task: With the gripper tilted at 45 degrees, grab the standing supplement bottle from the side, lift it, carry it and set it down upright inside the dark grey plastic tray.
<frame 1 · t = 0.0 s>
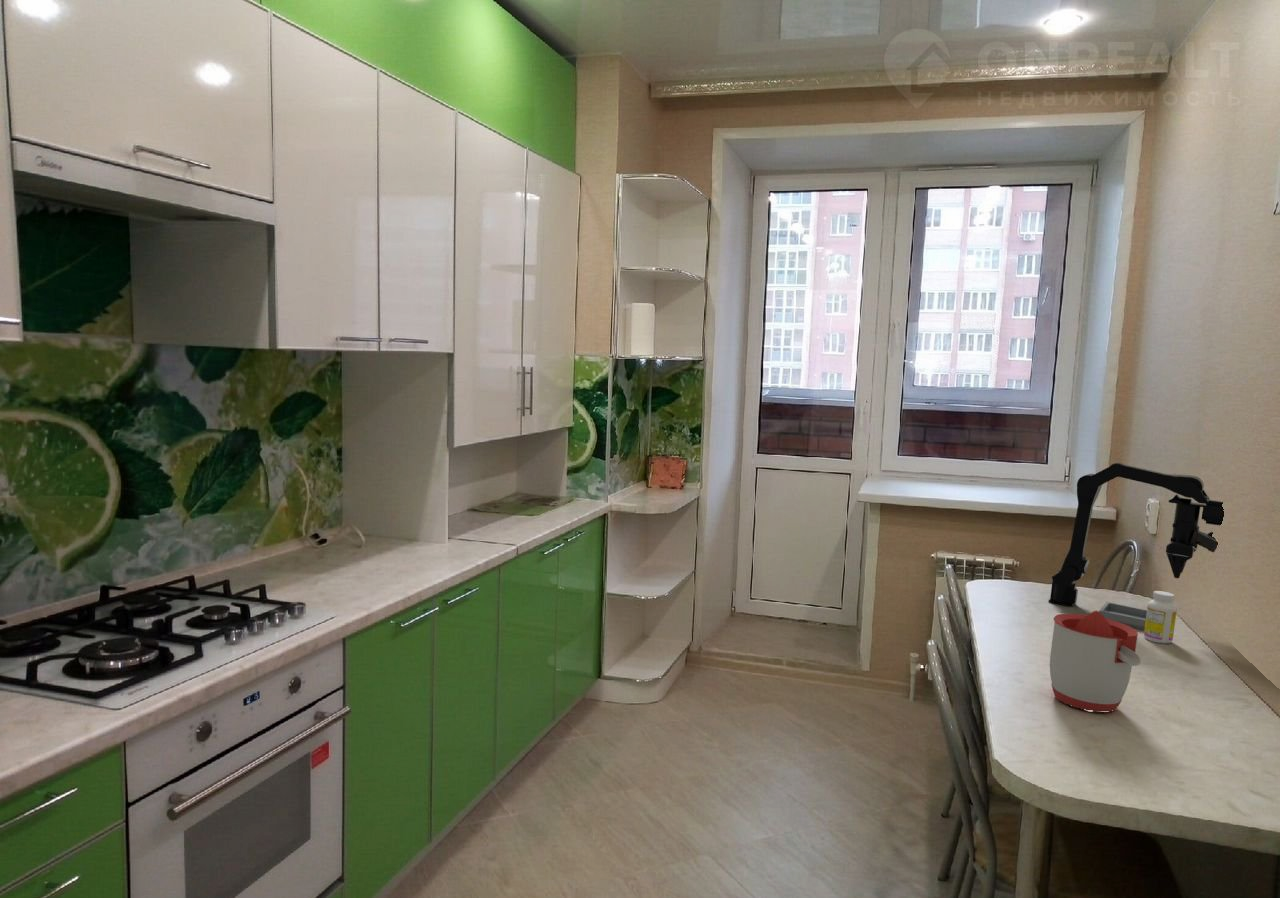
hand: (1178, 575, 241), 15 cm above the table, fingers open, 9 cm apart
supplement bottle: (1157, 640, 228), on the table
citrus juicer: (1088, 705, 180), on the table
tray: (1126, 621, 244), on the table
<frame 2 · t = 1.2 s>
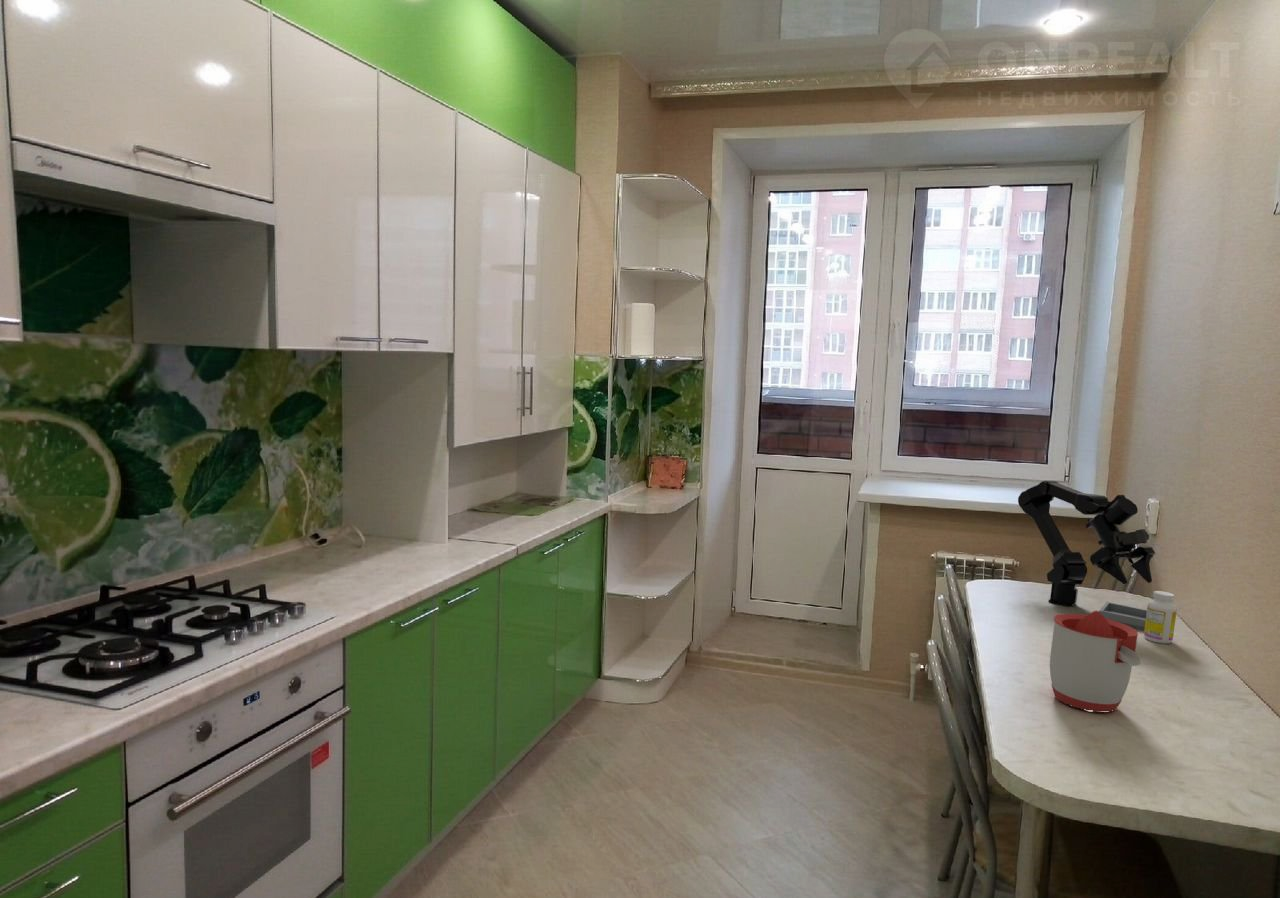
hand: (1138, 582, 234), 13 cm above the table, fingers open, 9 cm apart
nothing on the table moved.
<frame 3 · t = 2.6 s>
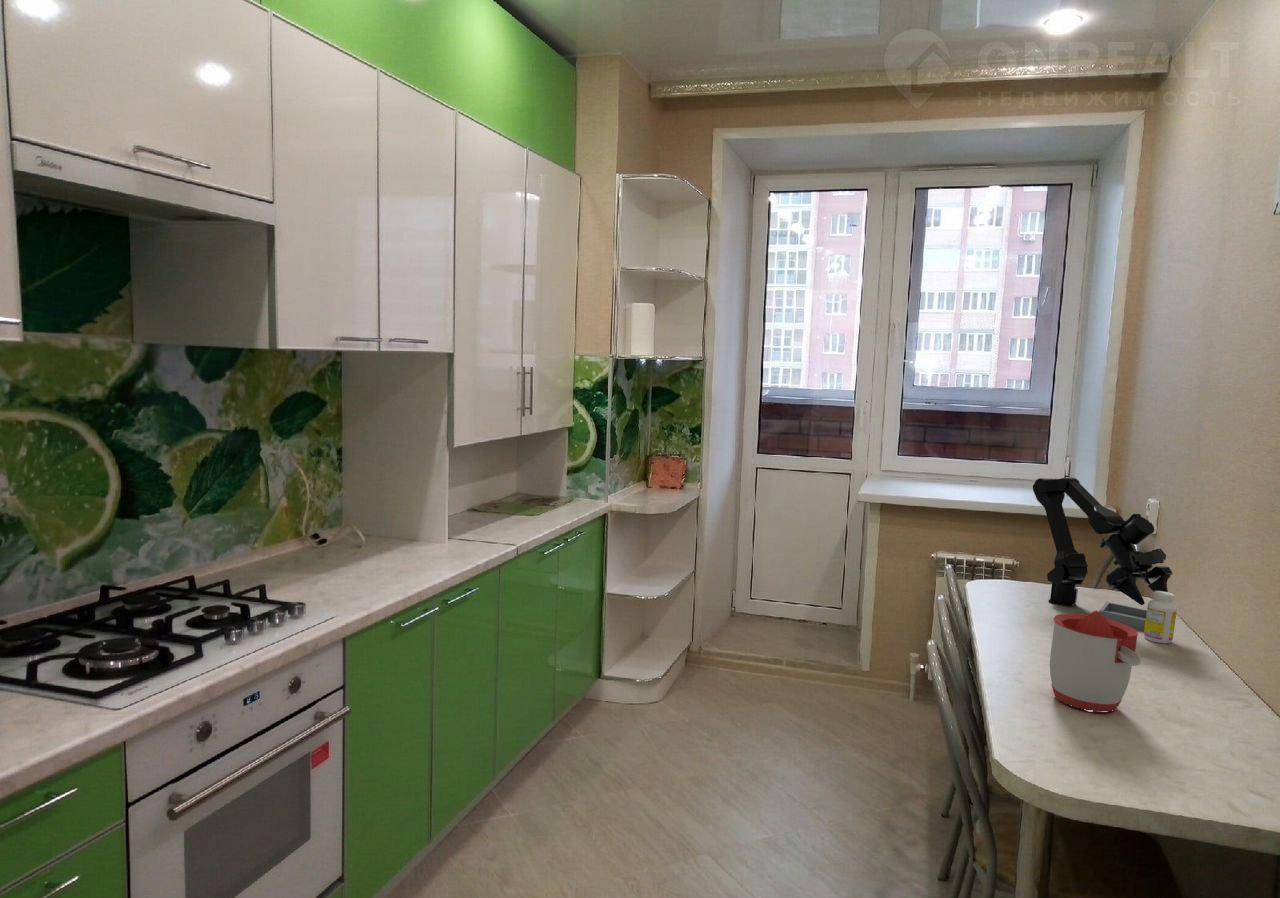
hand: (1155, 603, 229), 9 cm above the table, fingers open, 9 cm apart
nothing on the table moved.
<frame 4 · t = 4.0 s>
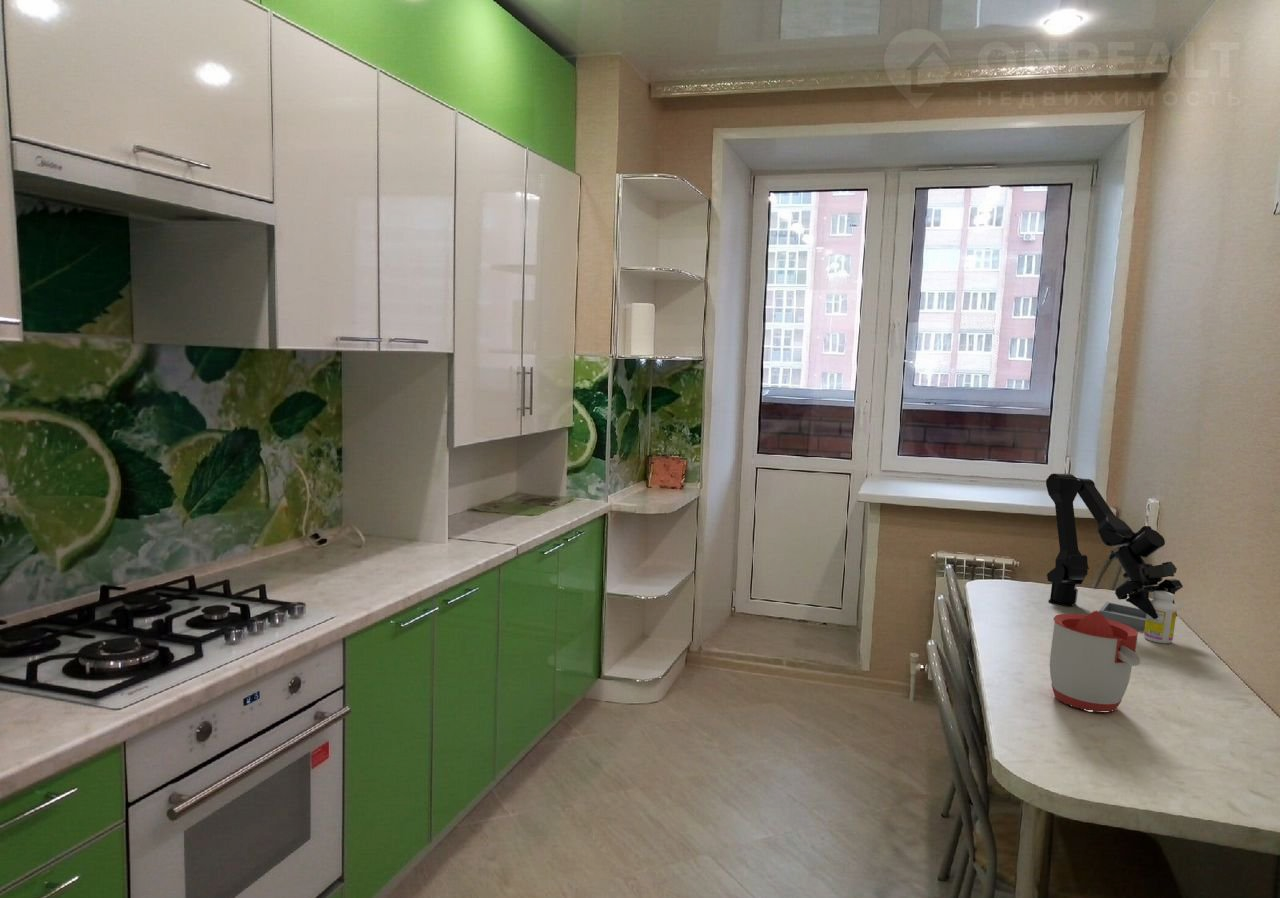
hand: (1165, 617, 226), 7 cm above the table, fingers closed on supplement bottle, 7 cm apart
supplement bottle: (1157, 640, 228), on the table, touching gripper
everything else where it was.
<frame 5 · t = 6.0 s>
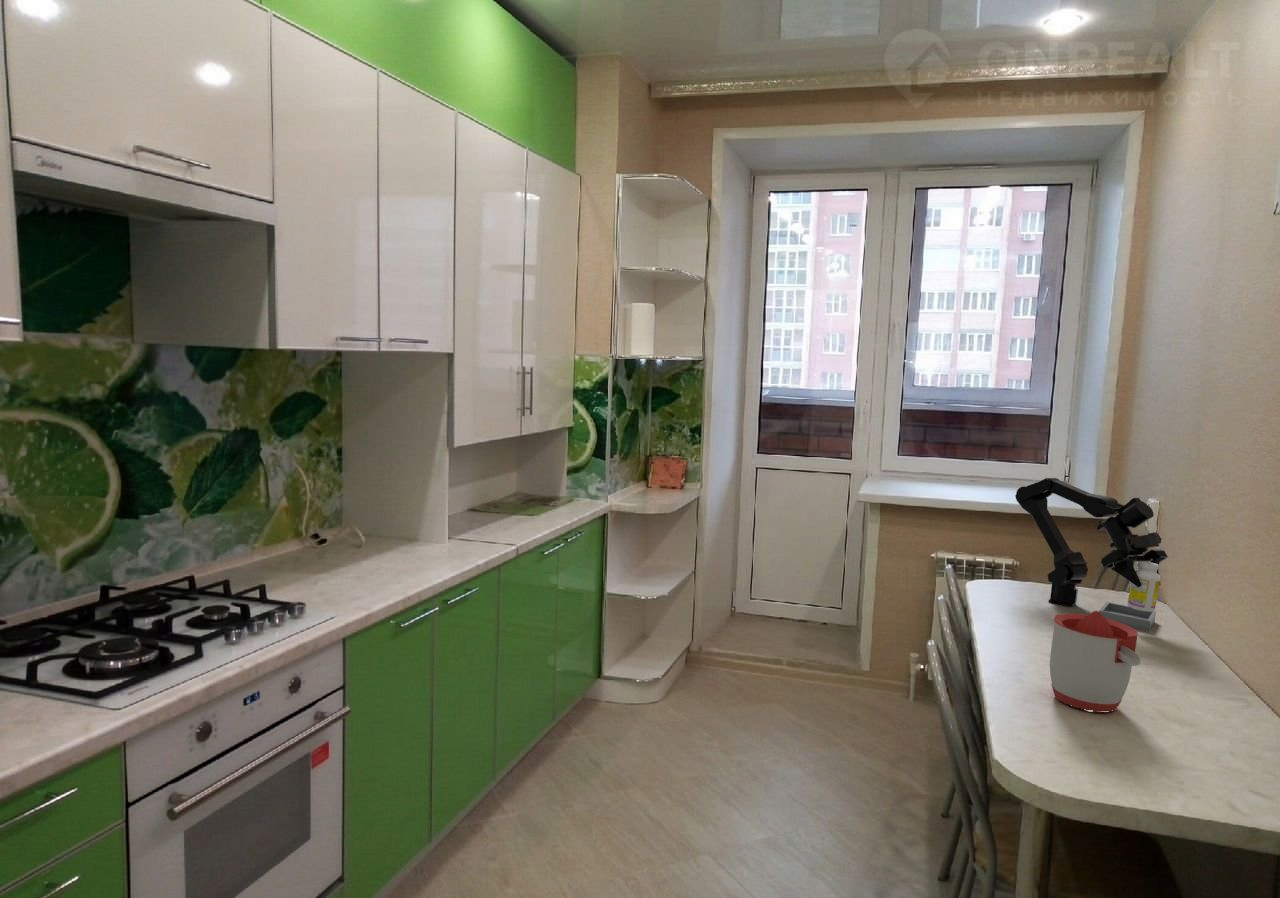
hand: (1149, 586, 233), 13 cm above the table, fingers closed on supplement bottle, 7 cm apart
supplement bottle: (1140, 609, 235), point 6 cm above the table, touching gripper
everything else where it was.
when the fingers open (9 cm above the table, at t = 8.2 s): supplement bottle stays where it is, resting on tray.
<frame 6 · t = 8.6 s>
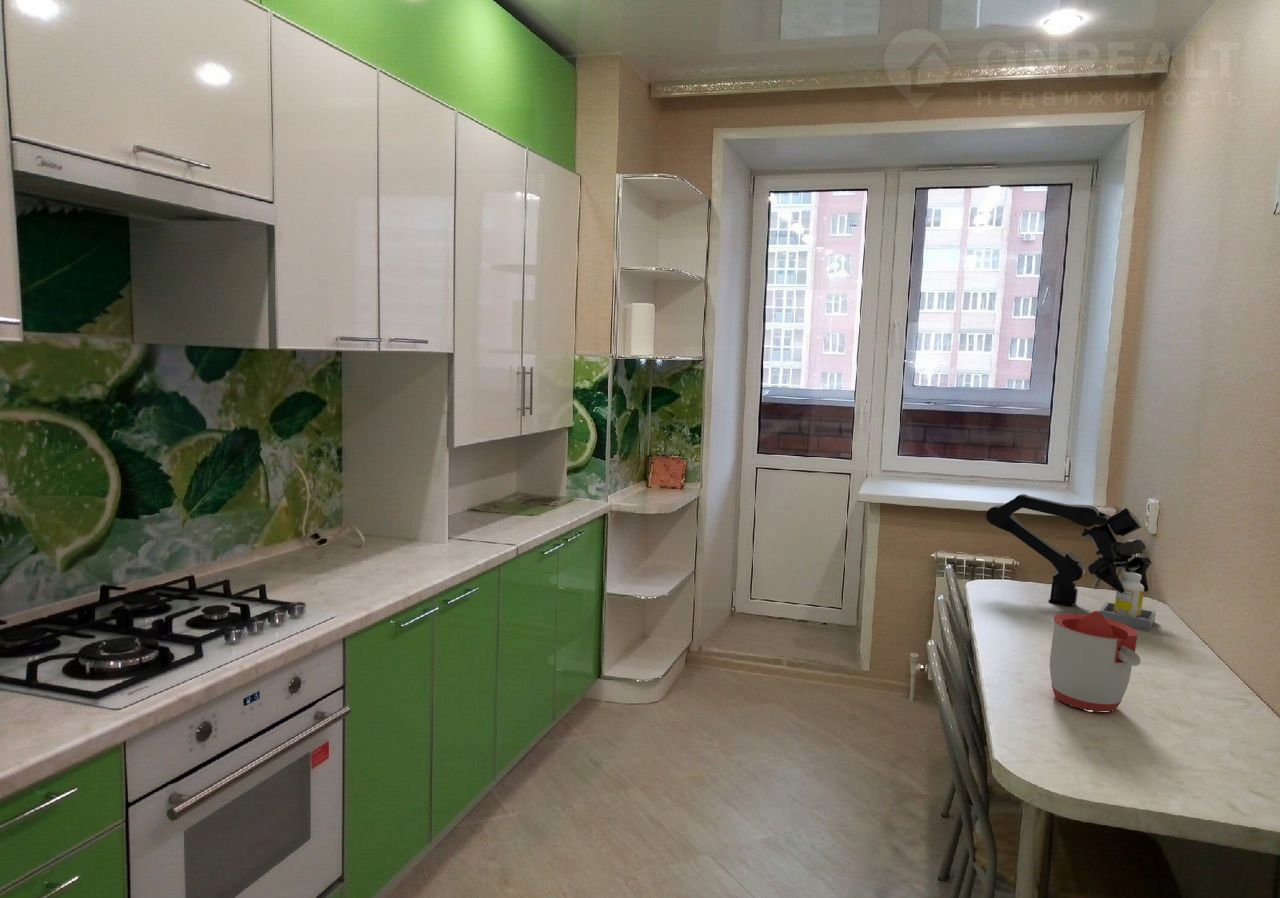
hand: (1135, 591, 241), 9 cm above the table, fingers open, 9 cm apart
supplement bottle: (1126, 618, 243), point 1 cm above the table, touching tray
everything else where it was.
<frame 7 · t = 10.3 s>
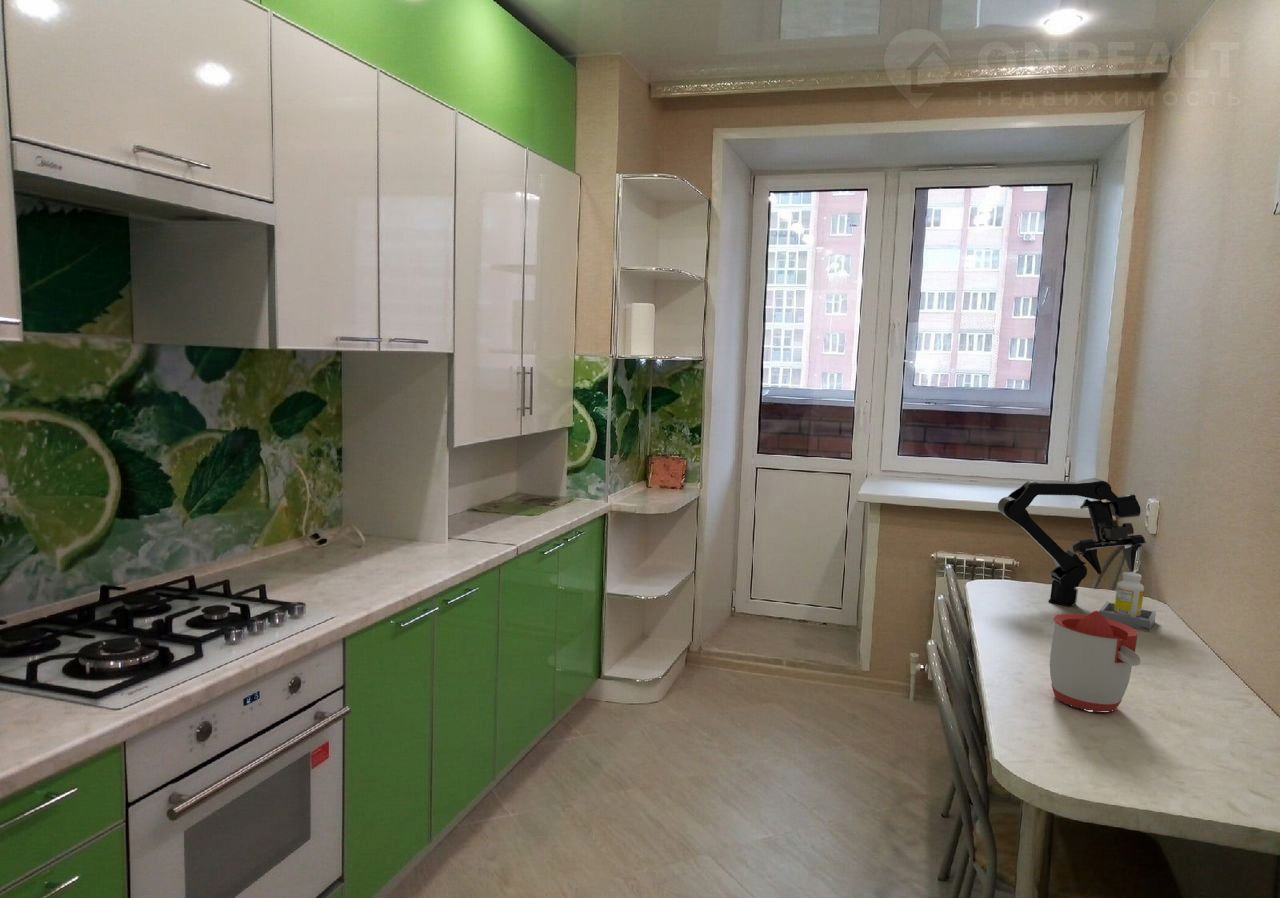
hand: (1116, 572, 249), 12 cm above the table, fingers open, 9 cm apart
nothing on the table moved.
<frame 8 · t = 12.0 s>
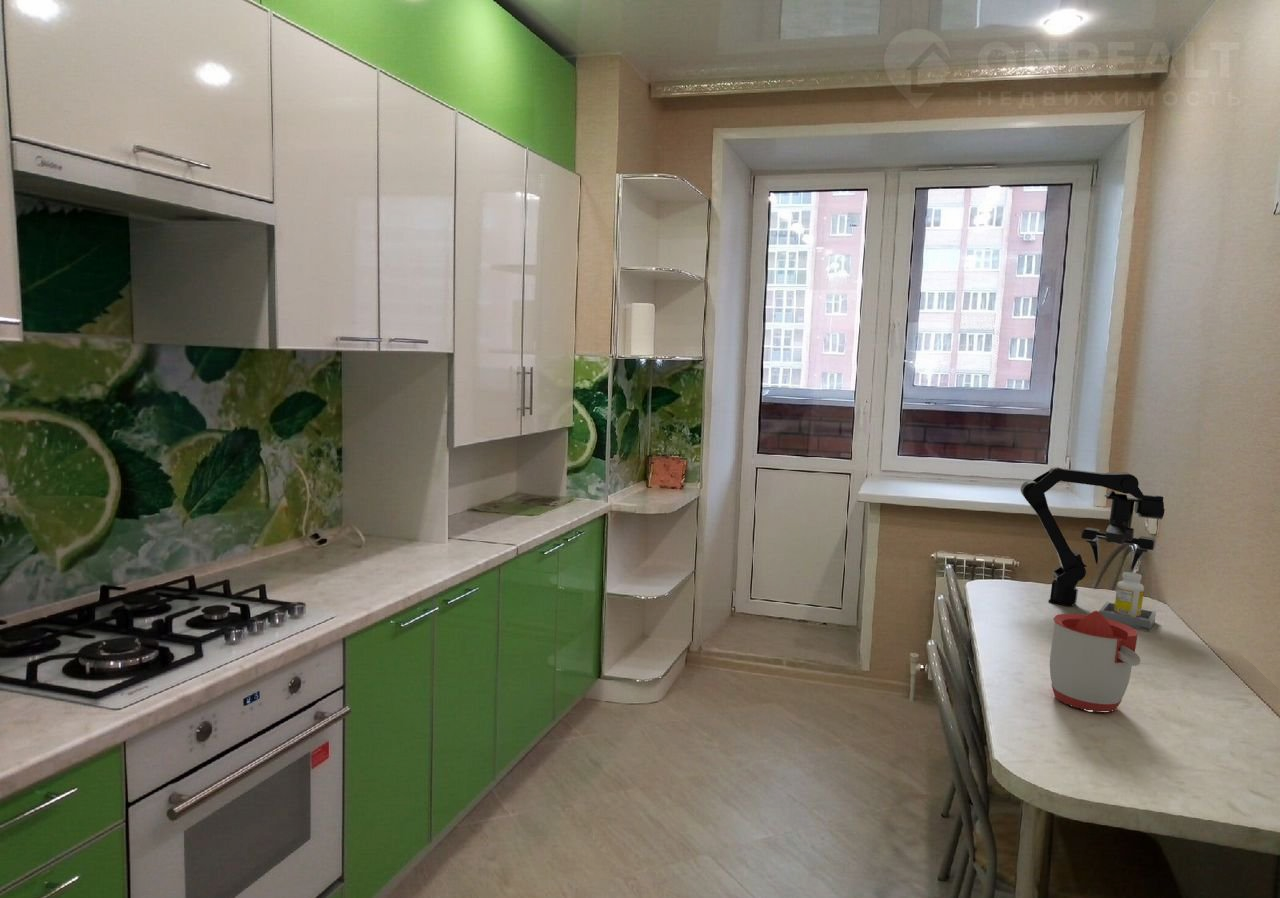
hand: (1114, 566, 254), 13 cm above the table, fingers open, 9 cm apart
nothing on the table moved.
at the end: supplement bottle inside the target area on the tray (0.1 cm from its centre), point 0.8 cm above the tray's base; supplement bottle tilted 0°; the gripper is holding nothing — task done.
